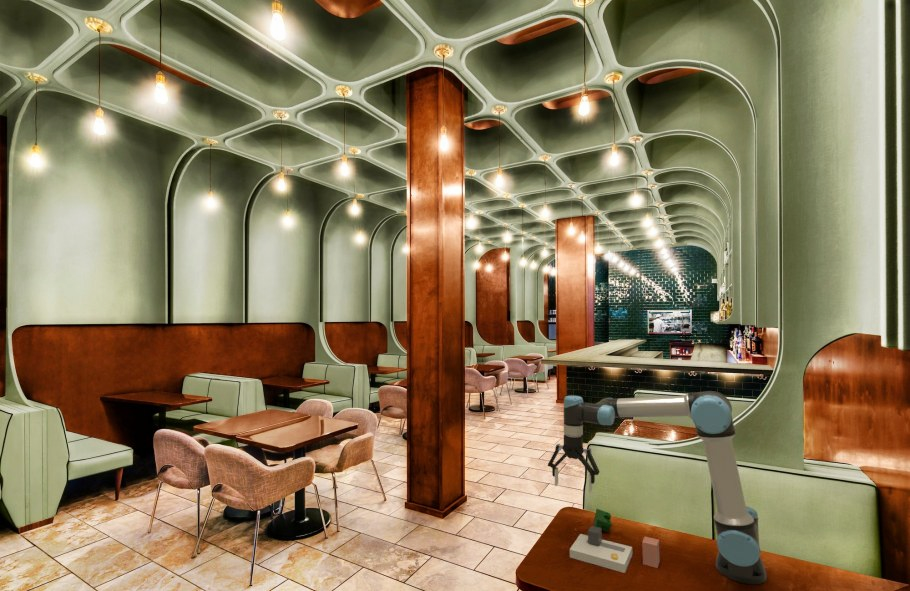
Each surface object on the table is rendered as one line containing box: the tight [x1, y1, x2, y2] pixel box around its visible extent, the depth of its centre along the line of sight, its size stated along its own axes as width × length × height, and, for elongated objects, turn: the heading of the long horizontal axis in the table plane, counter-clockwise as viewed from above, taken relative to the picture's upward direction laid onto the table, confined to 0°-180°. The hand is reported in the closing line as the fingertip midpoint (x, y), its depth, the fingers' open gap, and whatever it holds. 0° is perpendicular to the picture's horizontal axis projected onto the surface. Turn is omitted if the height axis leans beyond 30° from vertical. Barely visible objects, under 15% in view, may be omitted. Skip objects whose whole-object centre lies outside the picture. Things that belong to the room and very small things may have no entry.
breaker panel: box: [569, 533, 633, 574], centre depth 169 cm, size 20×14×4 cm
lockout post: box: [641, 536, 661, 569], centre depth 164 cm, size 5×5×8 cm
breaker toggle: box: [587, 525, 603, 546], centre depth 173 cm, size 4×5×5 cm
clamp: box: [593, 508, 613, 533], centre depth 191 cm, size 12×6×9 cm, turn 158°
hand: (573, 487), depth 178 cm, fingers open, 13 cm apart
